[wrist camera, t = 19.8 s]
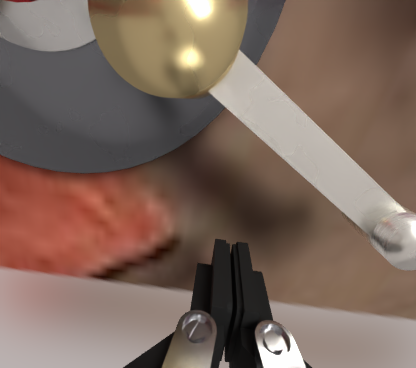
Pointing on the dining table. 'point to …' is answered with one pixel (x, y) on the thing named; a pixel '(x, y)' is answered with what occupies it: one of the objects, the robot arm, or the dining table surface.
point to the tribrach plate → (92, 92)
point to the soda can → (21, 0)
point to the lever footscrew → (244, 101)
